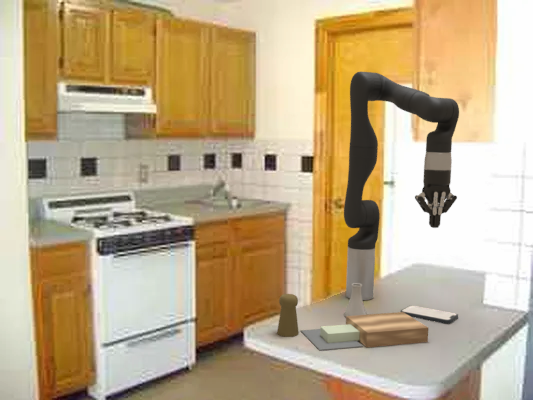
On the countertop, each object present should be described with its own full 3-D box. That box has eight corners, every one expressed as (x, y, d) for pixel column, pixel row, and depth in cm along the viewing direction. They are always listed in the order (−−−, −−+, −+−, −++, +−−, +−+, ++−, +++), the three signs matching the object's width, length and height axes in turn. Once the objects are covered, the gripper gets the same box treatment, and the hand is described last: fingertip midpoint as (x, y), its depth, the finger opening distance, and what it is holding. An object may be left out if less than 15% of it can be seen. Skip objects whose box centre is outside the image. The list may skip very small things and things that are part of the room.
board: (345, 329, 169) (346, 316, 168) (402, 325, 173) (403, 311, 173) (366, 347, 155) (367, 332, 155) (427, 341, 160) (428, 327, 160)
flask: (369, 314, 184) (370, 282, 182) (365, 321, 177) (366, 288, 175) (346, 311, 186) (347, 280, 185) (341, 318, 179) (342, 286, 178)
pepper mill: (291, 338, 161) (292, 299, 159) (273, 334, 164) (273, 295, 163) (302, 332, 166) (303, 294, 165) (283, 328, 169) (284, 290, 168)
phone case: (398, 316, 184) (449, 326, 175) (398, 311, 184) (449, 320, 174) (410, 309, 191) (459, 318, 182) (410, 304, 191) (459, 313, 181)
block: (320, 335, 163) (320, 326, 162) (350, 332, 165) (350, 324, 165) (328, 342, 157) (328, 333, 157) (359, 340, 159) (359, 331, 159)
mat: (300, 331, 166) (300, 330, 166) (340, 328, 170) (340, 327, 170) (319, 350, 152) (319, 349, 152) (362, 347, 155) (362, 345, 155)
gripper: (450, 167, 175) (447, 224, 178) (410, 167, 172) (407, 225, 174) (465, 169, 168) (461, 229, 170) (423, 169, 165) (420, 230, 167)
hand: (434, 227), depth 172 cm, fingers closed
